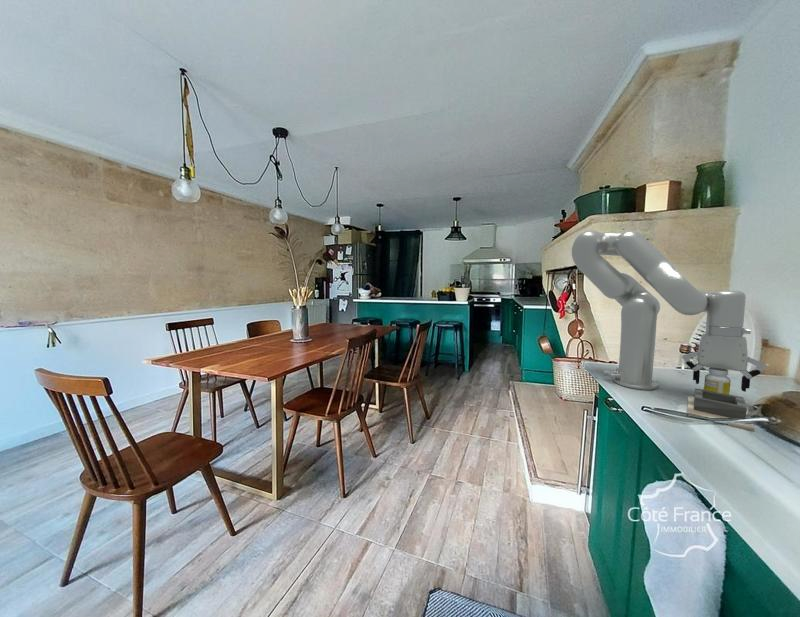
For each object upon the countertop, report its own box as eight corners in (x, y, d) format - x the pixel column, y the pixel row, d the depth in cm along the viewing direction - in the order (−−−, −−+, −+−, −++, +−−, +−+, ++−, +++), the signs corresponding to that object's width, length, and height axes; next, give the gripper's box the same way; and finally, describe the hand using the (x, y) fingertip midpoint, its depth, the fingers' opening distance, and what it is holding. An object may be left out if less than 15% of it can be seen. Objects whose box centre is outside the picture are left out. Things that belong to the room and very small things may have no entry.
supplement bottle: (725, 398, 92) (728, 368, 91) (731, 405, 88) (735, 373, 87) (700, 394, 95) (703, 365, 94) (705, 400, 91) (708, 370, 90)
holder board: (754, 431, 73) (756, 414, 73) (686, 415, 82) (688, 400, 81) (746, 410, 84) (748, 394, 84) (688, 398, 93) (689, 384, 92)
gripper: (767, 332, 85) (761, 389, 87) (684, 327, 98) (681, 377, 99) (771, 336, 80) (765, 397, 82) (683, 330, 92) (680, 383, 94)
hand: (719, 386), depth 91 cm, fingers open, 9 cm apart
